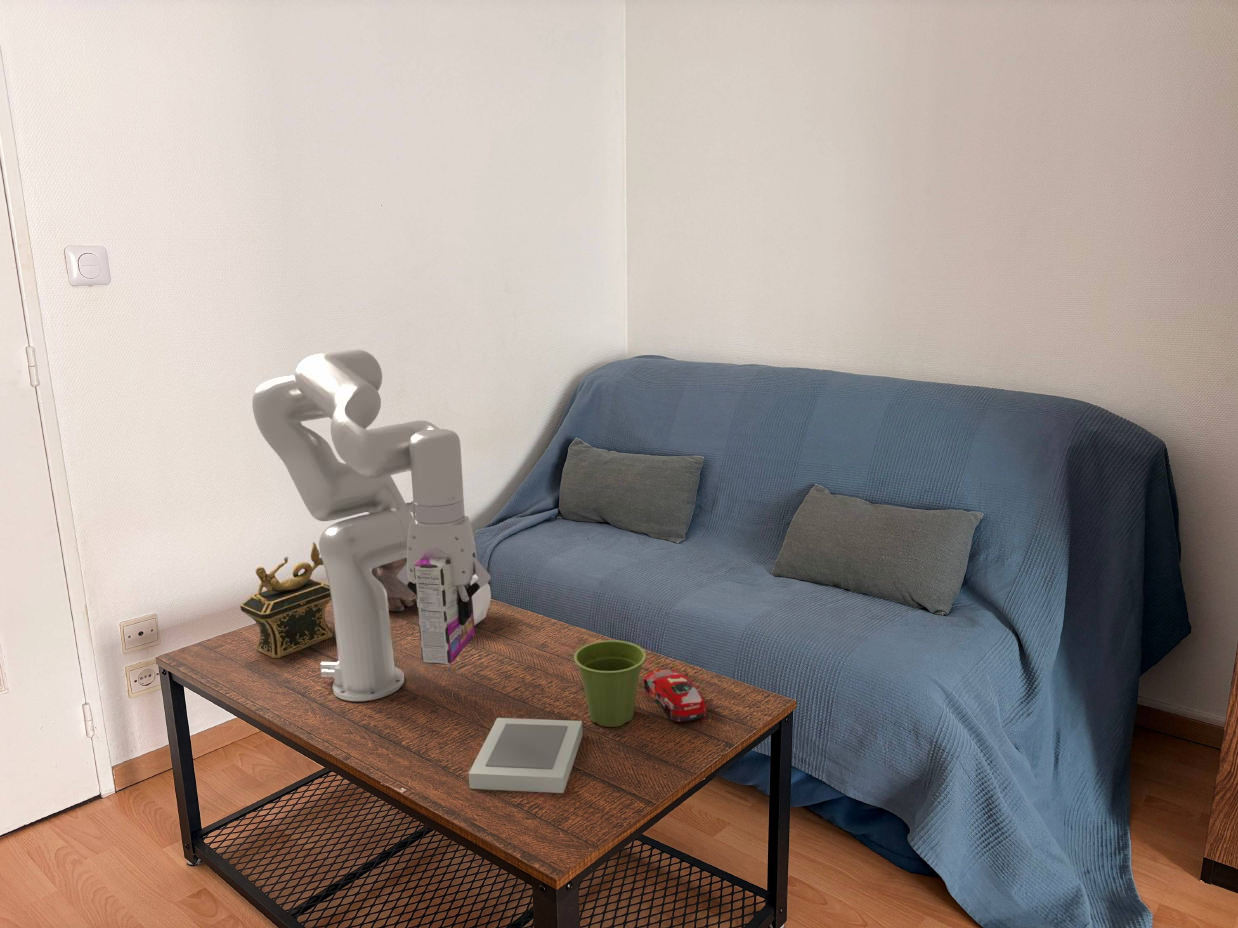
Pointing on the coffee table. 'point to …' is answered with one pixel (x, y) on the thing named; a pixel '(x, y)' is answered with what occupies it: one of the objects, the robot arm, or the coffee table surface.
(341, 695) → the robot arm
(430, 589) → the candy bar box
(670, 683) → the race car
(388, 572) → the clay figurine
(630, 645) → the plant pot
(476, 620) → the geodesic sphere
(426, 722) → the coffee table surface
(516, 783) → the picture frame
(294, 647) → the decorative box
